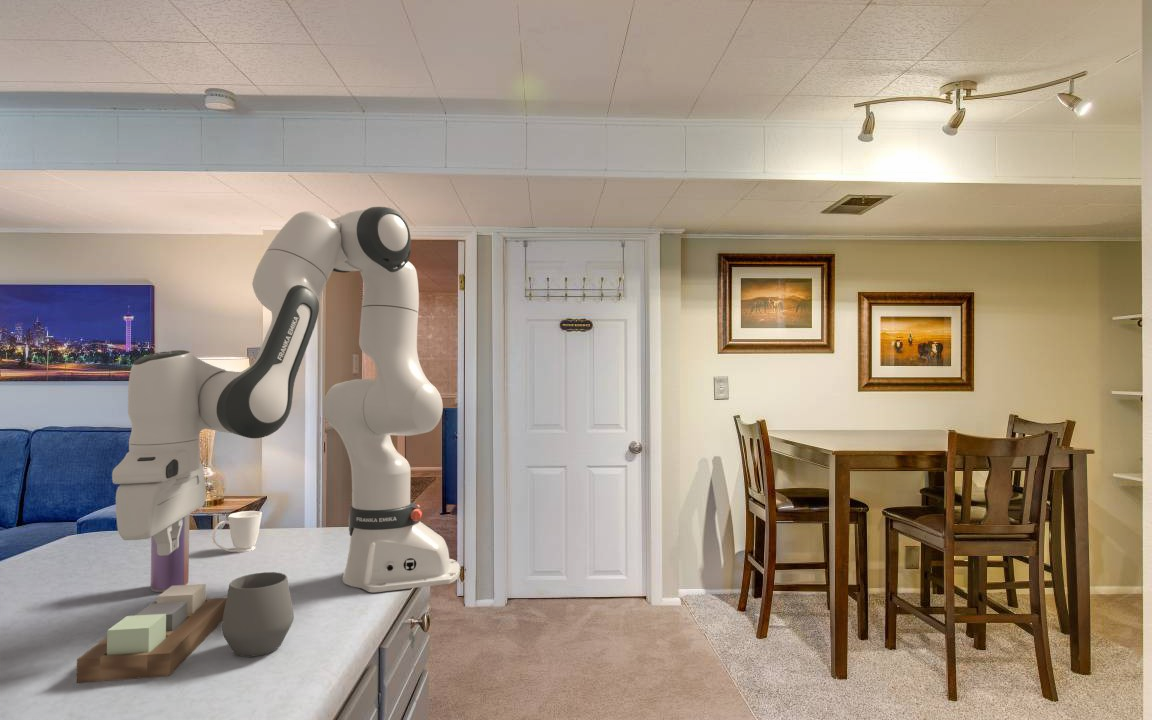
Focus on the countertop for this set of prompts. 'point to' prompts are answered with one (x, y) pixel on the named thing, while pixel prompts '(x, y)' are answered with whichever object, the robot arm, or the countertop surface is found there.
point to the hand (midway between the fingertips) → (168, 552)
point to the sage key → (136, 634)
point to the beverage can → (171, 563)
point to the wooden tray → (161, 657)
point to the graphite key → (168, 613)
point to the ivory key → (184, 596)
